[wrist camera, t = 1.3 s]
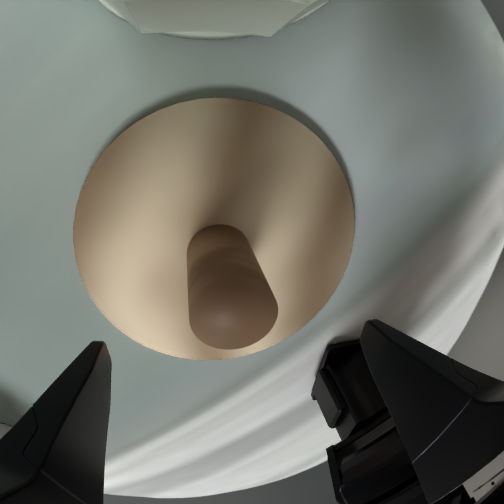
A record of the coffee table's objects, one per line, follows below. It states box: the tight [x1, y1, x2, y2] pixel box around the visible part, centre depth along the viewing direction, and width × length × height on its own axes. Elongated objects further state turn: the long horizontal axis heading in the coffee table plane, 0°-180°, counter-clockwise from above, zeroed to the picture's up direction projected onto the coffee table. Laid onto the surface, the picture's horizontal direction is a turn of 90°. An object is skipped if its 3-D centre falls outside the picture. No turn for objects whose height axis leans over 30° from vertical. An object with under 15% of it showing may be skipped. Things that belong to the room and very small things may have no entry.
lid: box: [73, 98, 355, 360], centre depth 13 cm, size 15×15×6 cm
